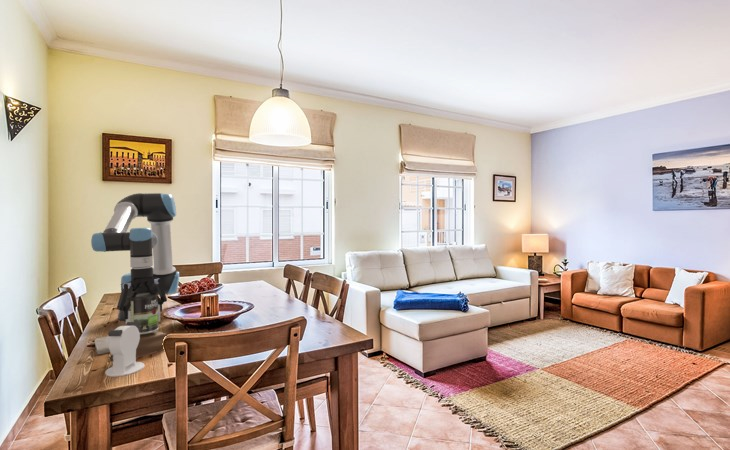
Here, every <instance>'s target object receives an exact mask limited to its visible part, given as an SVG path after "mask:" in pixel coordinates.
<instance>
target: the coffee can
mask: <svg viewBox="0 0 730 450" xmlns="http://www.w3.org/2000/svg"><path fill="white" fill-rule="evenodd" d="M158 296H159V295H158V294H157V293H156V294H150V293H139V294H137V295H136V297H135V298H130V297H129V296H128V297H127V299H128V300H131V306H130V308H129V309H128V310H130V311H131V322H139V324H140V326H139V329H138V330H139V333H140V335H141V334H147V333H152V332H154V331H159V330H160V329H159V321H158Z"/></svg>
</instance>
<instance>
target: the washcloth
mask: <svg viewBox="0 0 730 450" xmlns="http://www.w3.org/2000/svg"><path fill="white" fill-rule="evenodd" d="M109 341H110V336H108V335H106V336H101V337H96V338H95V339H94V345H95V346H94V347H95V351H96V355H104V354H109V353H110V350H109Z"/></svg>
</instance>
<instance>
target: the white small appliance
mask: <svg viewBox="0 0 730 450" xmlns="http://www.w3.org/2000/svg"><path fill="white" fill-rule="evenodd" d="M139 326H140V324H139V322H127V324H126V323H125V325H120V326H118V327H116V328H115V329H110V330H109V331H108V333H107V336H110V341H109V350H110V352H109V353H110V361H111V362H112V366H111V367H109V368H107V369H106V370H105V372H104V373H105V376H106V377H113V378H114V377H123V376H128V375H133V374H135V373H137V372H140V371H142V370H143V369H144V367H145V363H144V362H141V361H137V358H136V348H137V346H138V344H139V340H140V333H139V330H138V329H139Z"/></svg>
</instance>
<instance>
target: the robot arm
mask: <svg viewBox="0 0 730 450" xmlns="http://www.w3.org/2000/svg"><path fill="white" fill-rule="evenodd" d="M176 216H177V206H176V202H175V199H174V197H173V195H172V194H170V193H162V192H161V193H160V192H159V193H158V192H155V193H154V192H153V193H146V192H145V193H141V192H140V193H133V194H131V195H130V194H129V195H128V196H125V197H124V198H122V199H121V200H119V201H118V202H117V203H116V205H115V206H114V208H113V215H112V216H111V219H110V220H109V222H108V223H107V225H106V227H105V229H104V230H103V232H96V233H93V234H92V236H91V241H90V245H91V248H92V250H93V251H94V252H100V253H101V252H104V253H106V252H123V251H124V252H126V251H127V252H128V251H129V256H130V261H129V262H130V265H129V266H130V273H125V274H123V275H122V276H121V277H120V295H119V299H118V301H117V302H118V303H117V306H116V309H117V310H118V313H117V320H118V321H125V325H126V324H127V322H131V311H130V310H128V309H129V308H130V306H131V300H128V299H127V297H128V296H129V297H130V298H135V297H136V295H137V294H139V293H150V294H156V293H157V294H158V322H161V313H162V312H163V305H164V303H166V302H167V301H168V298H167V296H166V295H174V294H176V293H177V292H178V289H179V282H180V271H178V270H177V269H176V267H175V266H174V265H173V251H172V250H173V249H172V236H171V235H172V232H171V223H172V222H173V221H174V218H175V217H176ZM135 218H146V219H147V220H146V221H147V222H148V223H149V224H150V227H135V228H134V227H133V228H130V229H129V227H130V225H131V223H132V222H133V220H134V219H135ZM128 230H129V232H128Z"/></svg>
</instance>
